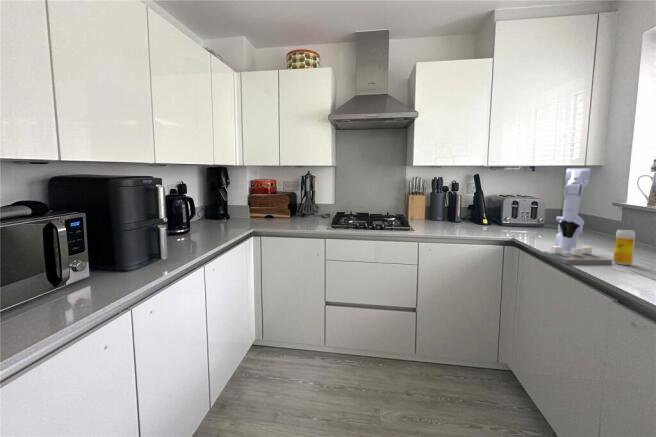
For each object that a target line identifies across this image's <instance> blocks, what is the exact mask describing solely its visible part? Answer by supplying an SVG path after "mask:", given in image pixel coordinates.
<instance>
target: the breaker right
mask: <svg viewBox="0 0 656 437" xmlns="http://www.w3.org/2000/svg"><path fill="white" fill-rule="evenodd" d="M579 248H581V249H583V252H582V253H584V254H593V253H592V252H593V247H591V246H588V245H587V246H586V245H585V246H584V245H581V246H580V247H579Z"/></svg>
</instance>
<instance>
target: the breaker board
mask: <svg viewBox="0 0 656 437" xmlns="http://www.w3.org/2000/svg"><path fill="white" fill-rule="evenodd" d="M542 256H543V257H547V258H549V259H551V260H554V261H557V262H559V263H561V264H565V265H592V266H593V265H597V266H598V265H599V264H601V265H605V266H606V265H608V266H609V265H610V266H611V265H612V264H613V263H612V262H613V260H612V259H609V258H605V257H603V256H600V255H596V254H593V253H592V254H584V253H582V255H572V254H570V252H564V251H562V254H560V253H552V252H551V250H550V251H549V250H547V251H543V253H542Z"/></svg>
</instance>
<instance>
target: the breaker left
mask: <svg viewBox="0 0 656 437" xmlns="http://www.w3.org/2000/svg"><path fill="white" fill-rule="evenodd" d="M562 250H563V247H560V246H555V245H552V246H551V247H550V251H551V252H552V253H560V254H562V252H563V251H562Z"/></svg>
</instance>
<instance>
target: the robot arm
mask: <svg viewBox="0 0 656 437" xmlns="http://www.w3.org/2000/svg"><path fill="white" fill-rule="evenodd" d="M591 171H592V170H591V168H590V167H589V168H567V169H566V172H565V185H564V191H563V192H564V193H563V194H564V199H563V201H564V202H563V211H562V216H560V215H559V216H556V221H558V227H557V231H558V233H557V234H556V236H555V239H554V246H560V247H563V250H562V252H571V248H578V240H579V235H581V234H582V233H583V227H584V225H585V220H583V217H581V216H579V210H580V209H579V208H580V201H581V197H582V194H583V188H585V187H587V186H589V185H588V184H589V183H590V182H589V181H590V176H591Z"/></svg>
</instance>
